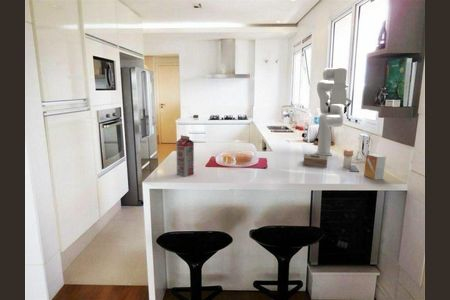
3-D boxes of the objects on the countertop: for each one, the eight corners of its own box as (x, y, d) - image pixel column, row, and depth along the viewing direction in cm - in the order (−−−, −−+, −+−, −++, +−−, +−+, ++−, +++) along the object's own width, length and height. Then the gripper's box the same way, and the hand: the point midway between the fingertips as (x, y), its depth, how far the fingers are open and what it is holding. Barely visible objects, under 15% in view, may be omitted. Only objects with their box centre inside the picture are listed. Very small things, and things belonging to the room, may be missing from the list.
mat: (335, 164, 193) (335, 163, 193) (355, 166, 190) (355, 165, 190) (338, 170, 178) (338, 169, 178) (359, 172, 175) (359, 171, 174)
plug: (341, 166, 187) (343, 149, 185) (350, 166, 185) (352, 150, 183) (342, 168, 182) (344, 151, 179) (352, 168, 180) (354, 151, 178)
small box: (363, 175, 167) (366, 153, 165) (372, 175, 169) (374, 153, 167) (374, 179, 160) (377, 156, 157) (383, 178, 162) (386, 156, 159)
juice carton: (185, 172, 166) (185, 134, 161) (193, 174, 162) (193, 136, 157) (176, 174, 161) (176, 135, 156) (184, 177, 156) (184, 137, 152)
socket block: (303, 162, 197) (304, 153, 196) (324, 164, 194) (325, 155, 193) (303, 167, 184) (304, 158, 183) (326, 169, 180) (327, 159, 179)
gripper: (352, 87, 190) (349, 113, 193) (325, 86, 194) (322, 112, 197) (354, 87, 182) (351, 113, 186) (325, 86, 187) (323, 112, 190)
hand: (336, 113), depth 192 cm, fingers open, 9 cm apart
